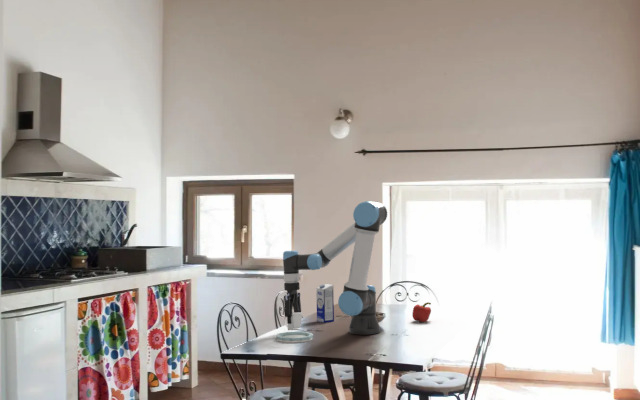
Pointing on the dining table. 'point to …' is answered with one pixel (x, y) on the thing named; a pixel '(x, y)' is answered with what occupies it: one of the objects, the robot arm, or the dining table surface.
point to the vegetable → (421, 312)
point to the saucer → (294, 337)
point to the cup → (296, 320)
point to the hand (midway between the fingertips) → (293, 328)
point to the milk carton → (325, 303)
